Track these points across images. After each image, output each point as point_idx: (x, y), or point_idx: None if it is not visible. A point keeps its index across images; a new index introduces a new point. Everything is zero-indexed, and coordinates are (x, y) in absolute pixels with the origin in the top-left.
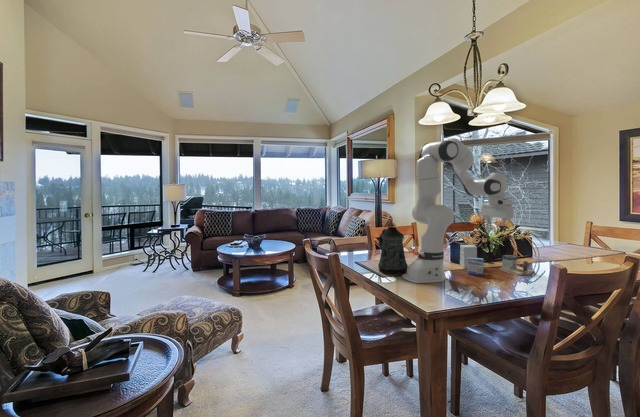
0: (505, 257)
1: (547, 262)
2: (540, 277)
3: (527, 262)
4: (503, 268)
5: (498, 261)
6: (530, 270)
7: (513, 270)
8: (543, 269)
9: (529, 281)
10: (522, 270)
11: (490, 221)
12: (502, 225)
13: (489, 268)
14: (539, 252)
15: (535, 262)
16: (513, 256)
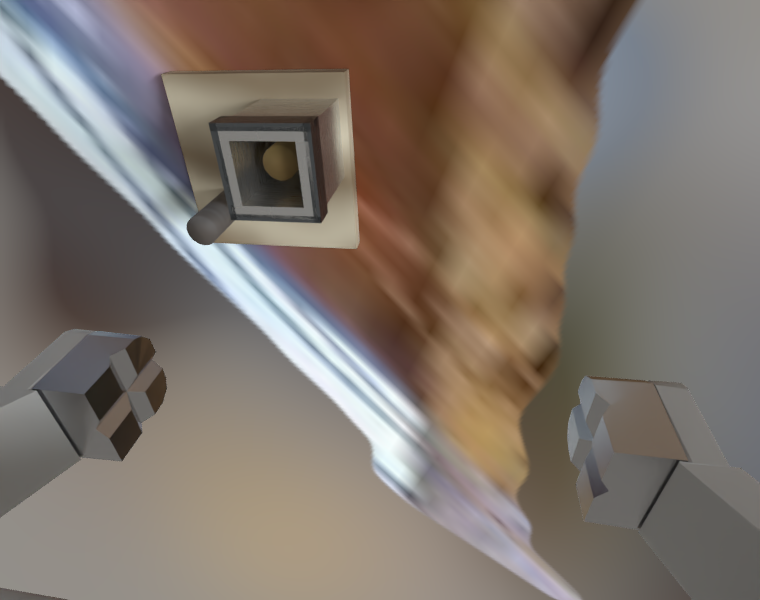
0: (267, 119)
1: (397, 471)
2: (123, 183)
3: (193, 233)
4: (317, 90)
5: (557, 288)
6: (226, 231)
7: None
8: (283, 347)
9: (22, 15)
10: None
11: (588, 483)
12: (73, 343)
13: (421, 19)
14: (567, 591)
15: (422, 435)
16: (260, 205)
